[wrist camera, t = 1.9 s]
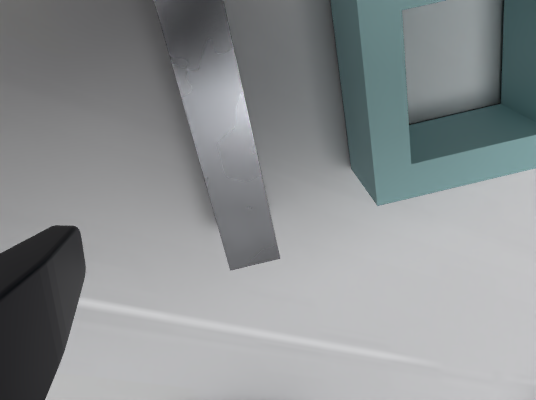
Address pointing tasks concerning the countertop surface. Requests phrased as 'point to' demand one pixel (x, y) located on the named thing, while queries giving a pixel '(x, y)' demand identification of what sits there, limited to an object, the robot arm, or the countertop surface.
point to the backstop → (220, 126)
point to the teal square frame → (438, 130)
